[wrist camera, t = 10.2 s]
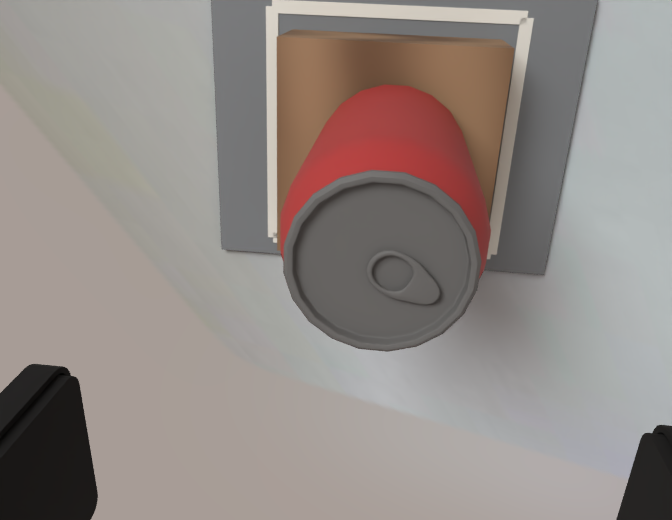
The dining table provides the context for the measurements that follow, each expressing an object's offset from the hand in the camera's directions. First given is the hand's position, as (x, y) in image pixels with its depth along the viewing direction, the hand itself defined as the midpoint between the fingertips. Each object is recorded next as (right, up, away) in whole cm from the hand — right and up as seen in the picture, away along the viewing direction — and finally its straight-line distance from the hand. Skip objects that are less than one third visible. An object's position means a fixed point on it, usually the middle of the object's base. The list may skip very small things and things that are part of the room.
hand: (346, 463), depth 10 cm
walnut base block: (+3, +10, +22) cm, 24 cm away
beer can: (+2, +8, +18) cm, 20 cm away
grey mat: (+3, +10, +22) cm, 24 cm away
